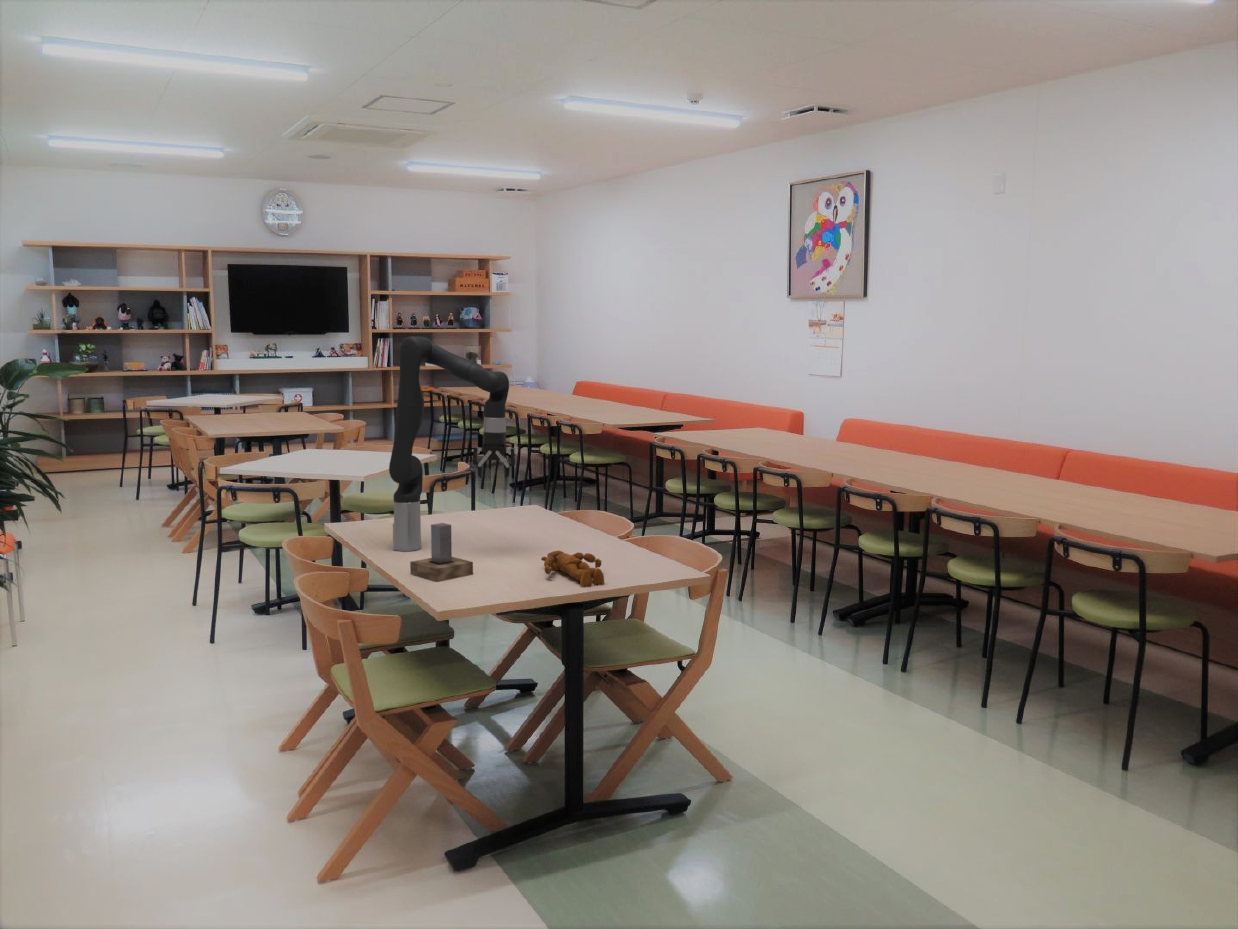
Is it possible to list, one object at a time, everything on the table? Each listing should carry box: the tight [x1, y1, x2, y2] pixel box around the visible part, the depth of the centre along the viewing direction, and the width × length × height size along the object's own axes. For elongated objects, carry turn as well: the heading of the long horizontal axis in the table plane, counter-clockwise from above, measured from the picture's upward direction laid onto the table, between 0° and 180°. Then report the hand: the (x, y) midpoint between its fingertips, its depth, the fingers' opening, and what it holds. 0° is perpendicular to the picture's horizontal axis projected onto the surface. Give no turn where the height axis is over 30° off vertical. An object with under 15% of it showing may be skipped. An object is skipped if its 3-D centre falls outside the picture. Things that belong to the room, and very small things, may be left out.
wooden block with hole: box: [409, 556, 474, 583], centre depth 312 cm, size 14×14×4 cm
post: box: [430, 522, 453, 565], centre depth 311 cm, size 4×4×16 cm
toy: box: [540, 550, 605, 588], centre depth 311 cm, size 20×7×30 cm
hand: (493, 477), depth 335 cm, fingers open, 8 cm apart
